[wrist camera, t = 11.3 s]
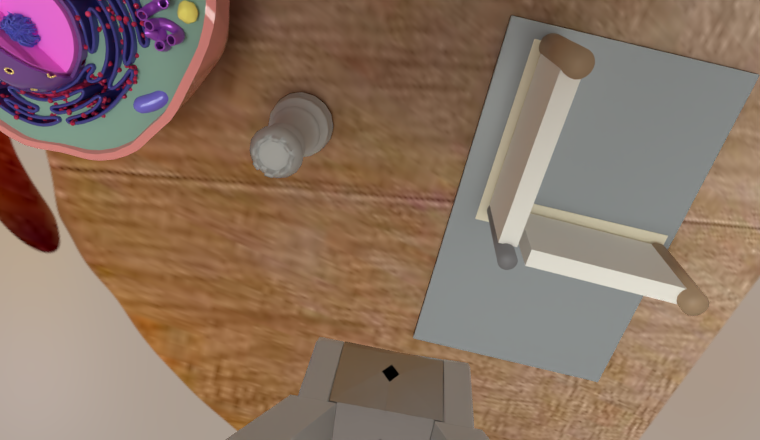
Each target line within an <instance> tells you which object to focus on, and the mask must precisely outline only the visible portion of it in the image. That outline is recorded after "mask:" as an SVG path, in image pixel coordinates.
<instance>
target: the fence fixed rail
mask: <svg viewBox="0 0 760 440" xmlns="http://www.w3.org/2000/svg"><path fill="white" fill-rule="evenodd" d="M539 52H540V57H539V60H538V63H537V66H536V69H535V72H534V75H533V78H532V81H531V84H530V87H529V90H528V93H527V95H526V98H525V101H524V104H523V107H522V110H521V113H520V116H519V119H518V122H517V125H516V128H515V131H514V134H513V137H512V140H511V143H510V146H509V149H508V152H507V155H506V157H505V160H504V163H503V166H502V169H501V172H500V175H499V178H498V181H497V184H496V187H495V190H494V193H493V196H492V199H491V202H490V205H489V206H488V208H487V215H488V220H489V224H490V229H491V234H492V239H493V244H494V248H495V253H496V258H497V263H498V265H499V267H500V268H502V269H504V270H510V269H513V268H514V267H515V266H516V265H517V263H518V259H517V256H516V252H515V248H514V247H517V246H518V244H519V241H520V238H521V236H522V233H523V230H524V228H525V225H526V223H527V220H528V217H529V215H530V212H531V209H532V207H533V204H534V201H535V199H536V196H537V194H538V191H539V188H540V186H541V183H542V180H543V178H544V175H545V172H546V170H547V167H548V165H549V162H550V159H551V157H552V154H553V151H554V149H555V146H556V144H557V141H558V138H559V136H560V133H561V130H562V128H563V125H564V122H565V120H566V117H567V115H568V112H569V109H570V107H571V104H572V101H573V99H574V96H575V93H576V91H577V88H578V86H579V83H580V80H581V79H582V78H584V77H586V76H588V75H589V74H590V73H591V72H592V70H593V68H594V65H595V57H594V55H593V53H592V52H591V51H590V50H589V49H587V48H585V47H583V46H581V45H579V44H577V43H575V42H573V41H571V40H569V39H567V38H565V37H563V36H561V35H559V34H556V33H550V34H547V35H546V36H544V37H543V38H542V39H541V42H540V44H539Z"/></svg>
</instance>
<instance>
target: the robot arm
mask: <svg viewBox="0 0 760 440" xmlns="http://www.w3.org/2000/svg"><path fill="white" fill-rule="evenodd" d="M226 440H489V438H488V437H487V436H486V434H485V433H484V432H483V431H482V430H480V429H475V428H474V419H473V404H472V389H471V373H470V366H469V364H468V363H464V362H458V361H451V360H445V359H443V360H441V359H435V358H430V357H424V356H418V355H412V354H406V353H400V352H395V351H390V350H385V349H380V348H375V347H370V346H365V345H360V344H355V343H350V342H345V343H344V342H343V341H338V340H333V339H328V338H323V337H320V338H319V339H318V340H317V342H316V345H315V348H314V351H313V354H312V357H311V359H310V362H309V365H308V368H307V371H306V374H305V377H304V380H303V383H302V386H301V389H300V392H299V395H298V396H295V395H289V396H288V397H287V398H285V399H284V400H282V401H281V402H279V403H278V404H276V405H275V406H274V407H272V408H271V409H269V410H268V411H266V412H265V413H263V414H262V415H261V416H259V417H258V418H256V419H255V420H253V421H252V422H250V423H249V424H247V425H246V426H245V427H243V428H242V429H240V430H239V431H237V432H236V433H234V434H233V435H232V436H230V437H229V438H227V439H226Z"/></svg>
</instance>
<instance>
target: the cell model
mask: <svg viewBox="0 0 760 440" xmlns="http://www.w3.org/2000/svg"><path fill="white" fill-rule="evenodd" d="M229 15H230V0H0V131H1V132H3V133H4V134H6V135H7V136H9V137H10V138H12V139H14V140H17V141H18V142H20V143H22V144H24V145H28V146H31V147H35V148H40V149H45V150H51V151H57V152H63V153H66V154H70V155H73V156H77V157H81V158H84V159H88V160H99V161H102V160H112V159H117V158H120V157H124V156H127V155H129V154H131V153H133V152H135V151H137V150H139V149H140V148H141V147H142V146H143V145H144V144H145V143H146V142H147V141H148V140H150V139H151V138H152V137H153V136H154V135H155V134H156V133H157V132H158V131H159V130H161V129H162V128H163V127H164V126H165V125H166V124H167V123H168V122H169V121H171V119H172V118H173V116H174V115H175V113H176V112H177V110H179V109H180V108H181V107H182V106H183V105H184V104H185V103H186V102H187V101H188V100H189V99H190V98H191V96H192V95H193V94H194V93H195V92H196V90H197V89H198V88H199V87H200V85H201V84H202V83H203V81H204V80H205V79H206V77H207V76H208V74H209V73H210V72H211V70H212V69H213V68H214V66H215V65H216V64H217V62H218V61H219V59H220V58H221V56H222V54H223V52H224V50H225V47H226V44H227V40H228V34H229Z"/></svg>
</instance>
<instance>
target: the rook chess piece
mask: <svg viewBox="0 0 760 440" xmlns="http://www.w3.org/2000/svg"><path fill="white" fill-rule="evenodd" d="M332 130H333V122H332V116H331V114H330V112H329V110H328V109H327V107H326V105H325V104H324V103H323V102H322V101H320V100H319V99H318V98H317V97H315V96H313V95H310V94H307V93H303V92H300V93H291V94H289V95H287V96H285V97H283V98H282V99H280V100H279V102H278V103H277V104H276V106H275V107H274V109H273V110H272V111H271V113H270V119H269V125H268V126H265V127H264V128H262V129H260V130H259V131H257V132H256V133H255V135H254V136H253V138H252V139H251V144H250V154H251V158H252V161H253V165H254V166H255V168H256V169H257V170H258V169H259V170H260V171H262V172H263V173H265V175H264V176H268V177H271V178H273V177H275V178H284V177H288V176H290V175H292V174H294V173H296V172H297V170H298V169H299V168H300V166H301V165H302V161H303V157H305V156H311V155H313V154H315V153H317V152H319V151H320V150H321V149H322V148H324V146H325V145H326V144H327V142H328V141H329V140H330V138H331V134H332Z"/></svg>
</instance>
